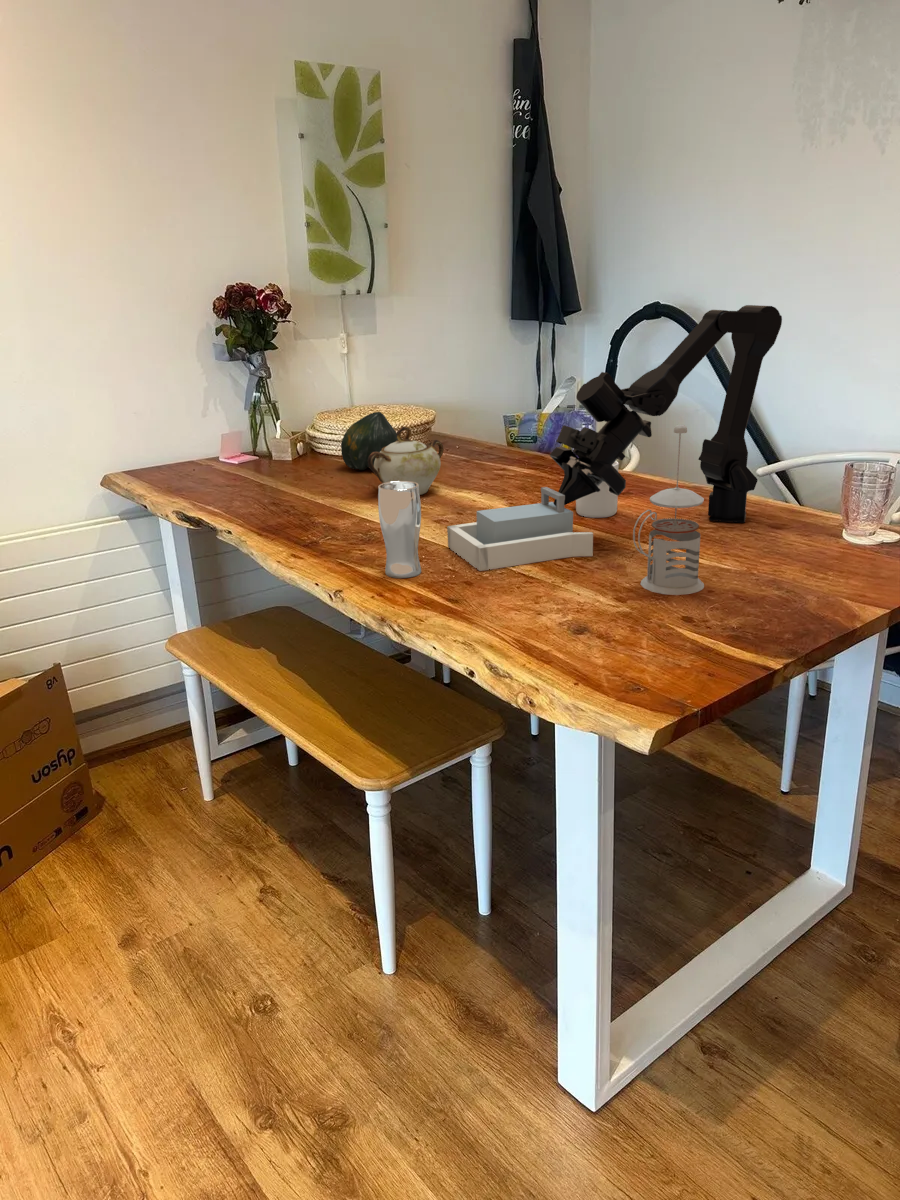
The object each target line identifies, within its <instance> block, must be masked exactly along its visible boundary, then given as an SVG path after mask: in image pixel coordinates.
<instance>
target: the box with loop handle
mask: <svg viewBox="0 0 900 1200" xmlns="http://www.w3.org/2000/svg"><path fill="white" fill-rule="evenodd" d="M540 492H541V493H540V494H541V495H540V496H541V498H540V499H541V502H540V503H539V502H538V503H533V504H522V505H515V506H509V507H508V506H507V507H499V508H498V507H497V508H492V509H491V508H489V509H482V510H476V522H477V540H478V541H479V542H481V543H482V544H484V545H486V544H492V543H499V542H506V541H513V540H519V539H526V538H533V537H539V536H546V535H553V534H560V533H566V532H574V530H573V529H574V523H573V522H574V511H572V510H570V509H568V508H567V507H565V505H564V500H565V495H563V494H561V493H559V492H558V491H557V490H555V489H553V488H550V487H548V486H543V487H540ZM550 498H552V499H554V500H555V499H557V507H556V506H555V505H554V501H550V500H549V499H550Z"/></svg>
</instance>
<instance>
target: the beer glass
mask: <svg viewBox="0 0 900 1200" xmlns="http://www.w3.org/2000/svg"><path fill="white" fill-rule="evenodd" d="M377 487H378V494H377V499H378V505H377V506H378V518H379V520H378V521H379V524H380V530H381V534H382V537H383V541H384V545H385V552H386V561H385V568H384V570H385V575H386V576H387V577H390V578H393V579H409V578H414V577H418V576H419V575H421V573H422V566H421V563H420V562H421V561H420V558H419V541H420V534H421V533H420V531H421V525H422V524H421V523H422V503H421V498H420V497H421V496H420V495H419V487H418V483H416V482H412V481H391V482H386V483H382V482H381V483H380V484H379V485H378V486H377Z"/></svg>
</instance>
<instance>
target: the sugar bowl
mask: <svg viewBox="0 0 900 1200" xmlns="http://www.w3.org/2000/svg"><path fill="white" fill-rule="evenodd" d="M404 431H406V435H404V436H403V437H402V436H401V434H402V432H404ZM396 433H397V438H398V440H397V441H396V442H394V443H391V444H389V445H388V446H386V447H384V448H382V450H381V451H380V452H376V451H374V452H372V453H371V454H370V455H369V457H368V465H369V467H370V468H369V467H368V468H369V469H370V470H371V472H372V473H374V475H375V476H376V477H377V478H378V481H380V482H381V484H382V483H386V482H391V481H412V482H416V483H418V487H419V495H421V496H422V495H424V494H426V493H428V492H429V489H430V487H431V485H432V484H433V482H434V481H435V479H436V477H437V476H438V474H439V471H440V469H441V464H442V463H441V458H442V457H443V454H444V445H443V443H442V442H441V441H440V440H438V439H434V440H430V441H428V442H426V443H424V442H421V441H418V440H413V439H412V440H411V439H410V437H412V431H411V429H410V428H409V427H407V426H401V427H400V428H399V429H398V430H397V431H396ZM436 445H437V446H438V452H437V448H436V447H435V446H436ZM374 457H376V458H375V461H374V466H373V459H374Z"/></svg>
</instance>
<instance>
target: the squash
mask: <svg viewBox="0 0 900 1200" xmlns="http://www.w3.org/2000/svg"><path fill="white" fill-rule="evenodd" d="M397 440H398V438H397V431H396V429H395V428H394V427H393V426H392V425H391V423H390V422H389V420H388V419H387V417H386V416H385V415H384V414H383V413H382V412H381V411H376V412H374V411H373V412H372V413H368V414H367V415H365V416H363V417H362V418H360V419H359V420H357V421H355V422H354V423H352V424H351V425H349V427H348V428H347V430H346V431H345V433H344V435H343V438H342V440H341V444H340V450H341V451H340V452H341V457H342V460H343V463H344V464H345V465H346V466H347V467H348V468H349V469H352V470H355V469H359V470H358V471H364V470H367V469H370V467H369V465H368V457H369V455H370V454H371V453H372V452H374V451H376V452H380V451H381V450H382V448H384V447H386V446H388V445H389V444H391V443H394V442H396V441H397ZM375 458H376V457H374V459H373V466H374V461H375Z"/></svg>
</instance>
